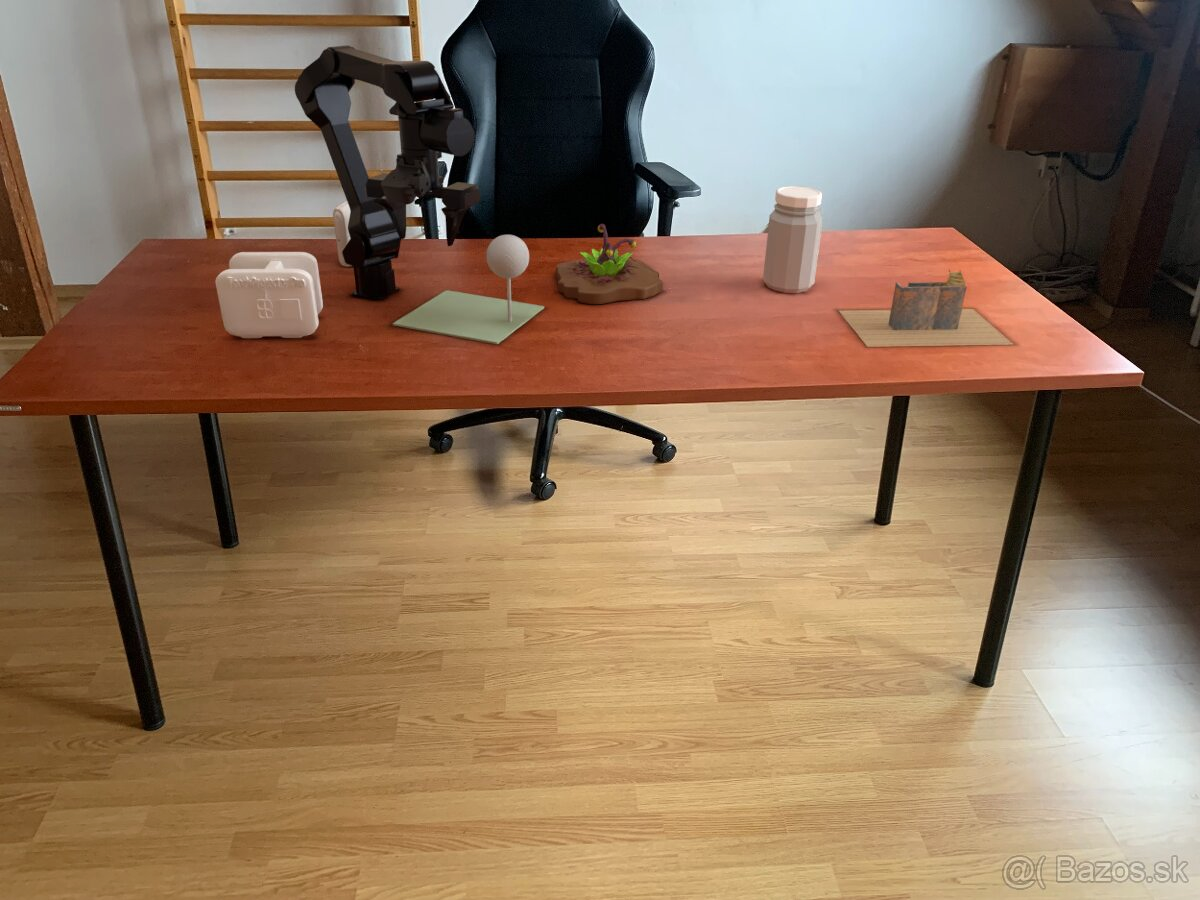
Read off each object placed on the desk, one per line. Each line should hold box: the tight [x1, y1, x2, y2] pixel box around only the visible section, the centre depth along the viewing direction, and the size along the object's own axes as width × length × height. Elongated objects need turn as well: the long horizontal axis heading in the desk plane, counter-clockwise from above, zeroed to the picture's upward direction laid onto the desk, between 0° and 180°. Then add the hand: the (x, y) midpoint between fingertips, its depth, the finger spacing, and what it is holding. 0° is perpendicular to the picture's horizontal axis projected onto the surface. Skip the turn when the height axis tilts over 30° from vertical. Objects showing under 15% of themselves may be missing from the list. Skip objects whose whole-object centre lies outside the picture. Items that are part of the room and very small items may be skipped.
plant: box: [555, 223, 664, 305], centre depth 176 cm, size 20×20×11 cm
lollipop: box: [485, 234, 531, 322], centre depth 157 cm, size 7×7×15 cm
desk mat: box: [392, 289, 545, 345], centre depth 164 cm, size 20×18×1 cm
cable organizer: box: [214, 251, 324, 339], centre depth 155 cm, size 15×11×12 cm
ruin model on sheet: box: [838, 269, 1015, 348], centre depth 160 cm, size 25×16×10 cm, turn 94°
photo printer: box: [332, 200, 353, 268], centre depth 186 cm, size 10×4×12 cm, turn 141°
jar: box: [762, 185, 824, 294], centre depth 175 cm, size 10×10×18 cm
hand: (426, 242), depth 158 cm, fingers open, 9 cm apart
